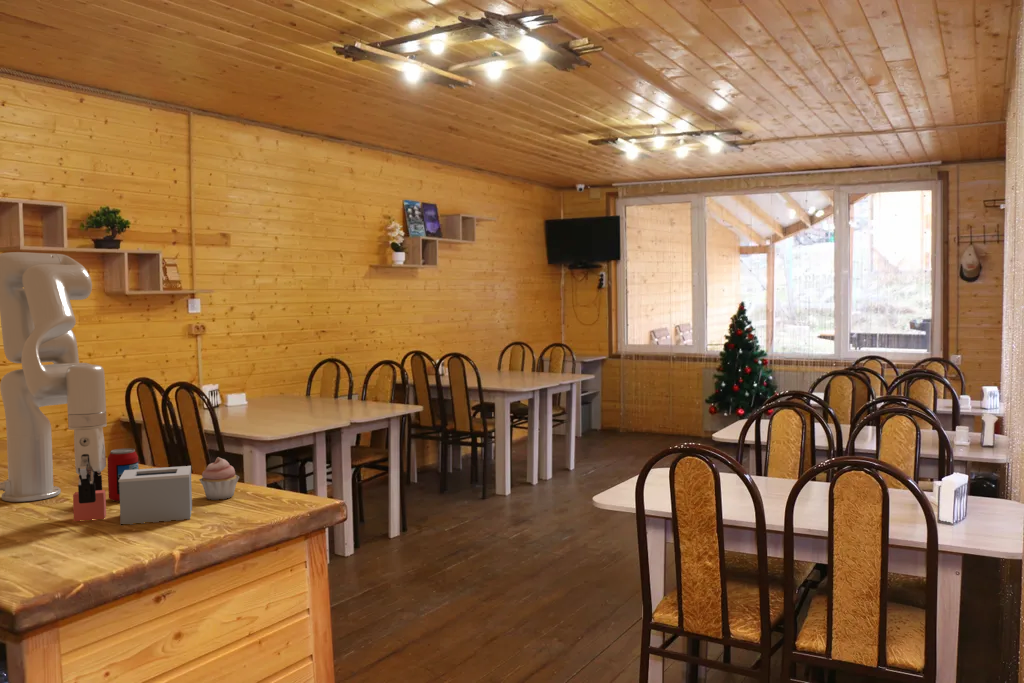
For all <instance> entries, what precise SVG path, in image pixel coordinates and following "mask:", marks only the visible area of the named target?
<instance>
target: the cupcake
mask: <svg viewBox="0 0 1024 683" xmlns="http://www.w3.org/2000/svg"><path fill="white" fill-rule="evenodd" d="M235 470H236V469H235V468H234V466H232V465H230V463H229V462H228V460H226V459H225V458H221V457H219V456H218V457H216V459H215V461H214V462H211V463H209V464H208V465H207V466H206V468H205V469H204V470H203V471H202V474H201V478H199V479H198V481H199V482H200V483H201V485H202V488H203V490H204V493H205V494H204V495H205V497H206V499H208V500H210V499H211V501H220V500H219V499H223V500H227V498H228V499H230V497H231V498H233V497H232V496H234V495H235V490H236V487H237V483H238V481H239V479H240V476H239V475H237V474H236V471H235Z"/></svg>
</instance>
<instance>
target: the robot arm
mask: <svg viewBox="0 0 1024 683" xmlns="http://www.w3.org/2000/svg"><path fill="white" fill-rule="evenodd" d="M92 282H93V281H92V277H91V275H90V273H89V272H88V270H87V268H85V266H83V264H82V263H80V262H78V261H77V260H75V259H74V258H72V257H70V256H69V255H66V254H63V253H51V252H50V253H48V252H47V253H45V252H44V253H43V252H28V251H27V252H26V251H24V252H23V251H16V252H15V251H13V252H10V251H9V252H3V253H0V324H1V334H2V335H1V336H2V345H3V351H4V354H5V357H6V359H7V360H8V361H9V362H11V363H13V364H21V369H15V370H11V371H9V372H7V373H6V374H4V375H3V376H2V378H1V380H0V396H1V399H2V403H3V408H4V416H5V426H6V453H7V476H8V477H7V479H6V480H3V481H0V491H3V493H1V500H2V501H5V502H12V503H15V502H16V503H18V502H19V503H20V502H33V501H39V500H45V499H50V498H53V497H56V496H58V495H60V494H61V493H62V492H61V490H62V489H61V488H60V487H59V486H54V469H53V468H54V466H53V441H52V440H53V439H52V438H53V437H52V434H53V433H52V425H51V424H52V423H51V422H50V420H49V418H48V417H47V416H46V414H44V412H42V410H41V409H40V408H42V407H45V406H47V407H48V406H57V405H66V404H67V406H66V407H67V422H68V423H67V424H68V430H72V431H74V432H73V442H74V462H75V463H74V466H75V473H76V474H77V475H78V484H77V488H78V490H77V492H78V494H79V503H92V502H95V501H96V493H95V491H97V490H103V478H102V477H103V476H102V472H103V471H104V470H105V469H106V467H107V458H106V447H105V446H106V444H105V437H104V436H105V434H104V428H105V427H107V426H108V425H107V422H108V421H107V402H106V401H107V400H106V379H105V378H106V376H105V369H104V367H103V366H102V365H98V364H91V363H87V362H80V358H79V349H78V342H77V337H76V335H75V333H74V331H73V328H74V327H75V326H76V323H77V321H76V320H77V319H76V317H75V314H74V310H73V306H72V303H71V301H74V300H75V301H81V300H85V299H87V298H89V297H90V295H91V293H92V290H93V283H92ZM43 363H50V364H43ZM51 363H52V364H51Z"/></svg>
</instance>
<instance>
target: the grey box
mask: <svg viewBox="0 0 1024 683" xmlns="http://www.w3.org/2000/svg"><path fill="white" fill-rule="evenodd" d="M119 490H120V502H119V517H120V518H119V520H120V521H119V522H120V525H121V524H130V525H134V524H133V523H141V524H145V523H144V522H153V523H160V522H159V521H164V522H172V521H171V520H176V521H184V519H187V520H191V518H190V517H192V512H191V511H193V495H192V494H193V491H192V490H193V488H192V465H187V466H186V465H181V466H170V467H166V466H165V467H153V468H138V469H135V470H124V472H123V474H122V476H121V477H120V479H119Z"/></svg>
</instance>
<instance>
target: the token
mask: <svg viewBox="0 0 1024 683" xmlns="http://www.w3.org/2000/svg"><path fill="white" fill-rule="evenodd" d="M95 493H96V501H95V502H92V503H79V494H78V491H75V492H74V493H73V495H72V501H73V502H72V504H73V505H72V507H73V522H74V521H80V520H92V519H104V518H105V519H106V517H107V502H106V501H107V500H106V489H102V490H97V491H95ZM105 516H106V517H105ZM105 519H104V520H105Z"/></svg>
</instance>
